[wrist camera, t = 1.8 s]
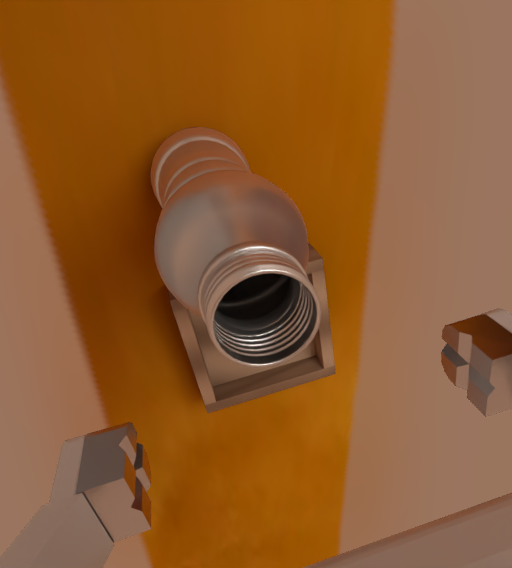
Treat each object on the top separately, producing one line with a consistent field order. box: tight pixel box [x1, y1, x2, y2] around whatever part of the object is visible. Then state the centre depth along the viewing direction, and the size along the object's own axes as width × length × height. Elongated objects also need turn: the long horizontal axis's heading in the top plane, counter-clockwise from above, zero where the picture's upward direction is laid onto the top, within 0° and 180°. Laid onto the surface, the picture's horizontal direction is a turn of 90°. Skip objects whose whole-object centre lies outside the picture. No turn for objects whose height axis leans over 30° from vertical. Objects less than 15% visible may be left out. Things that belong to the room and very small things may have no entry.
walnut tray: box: [168, 244, 335, 413], centre depth 36 cm, size 12×12×3 cm
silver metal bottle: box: [151, 127, 321, 368], centre depth 22 cm, size 6×7×20 cm
